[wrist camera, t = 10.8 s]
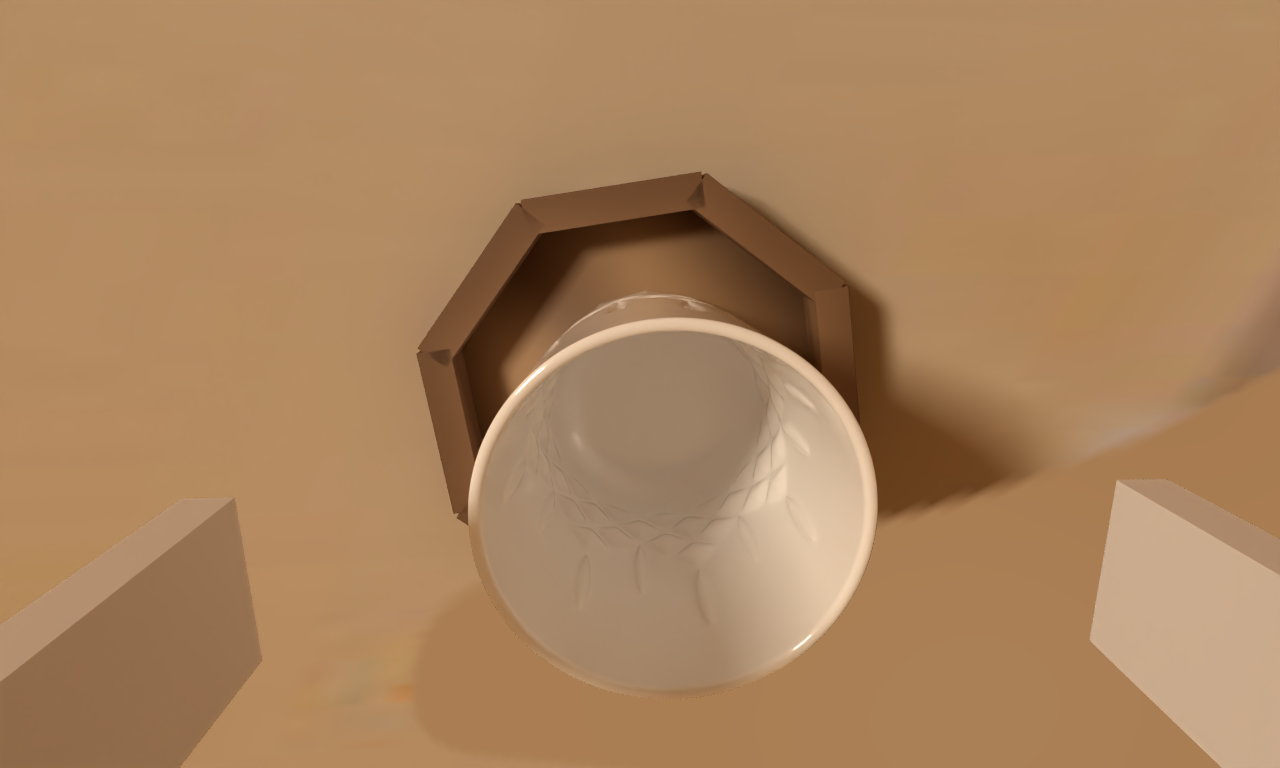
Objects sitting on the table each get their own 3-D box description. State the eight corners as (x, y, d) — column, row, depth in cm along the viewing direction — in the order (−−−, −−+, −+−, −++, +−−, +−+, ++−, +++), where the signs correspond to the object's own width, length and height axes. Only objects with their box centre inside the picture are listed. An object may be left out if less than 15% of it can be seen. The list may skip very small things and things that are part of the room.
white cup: (813, 435, 24) (944, 588, 14) (609, 545, 25) (601, 762, 15) (700, 224, 22) (761, 236, 13) (484, 349, 23) (385, 452, 13)
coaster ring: (597, 97, 22) (595, 85, 20) (914, 344, 24) (942, 357, 22) (371, 429, 24) (348, 449, 22) (680, 628, 26) (685, 664, 24)
